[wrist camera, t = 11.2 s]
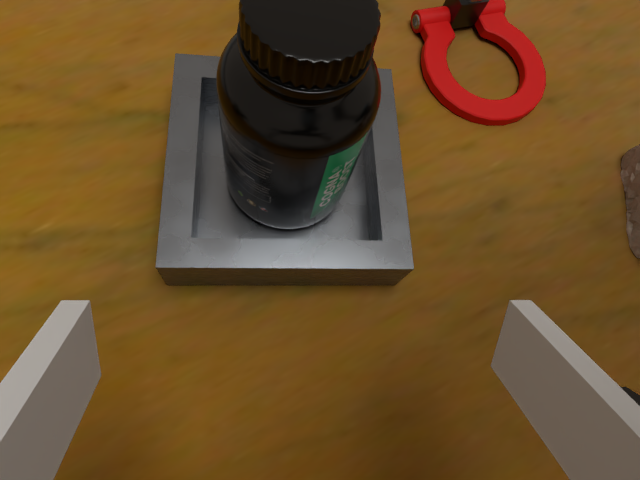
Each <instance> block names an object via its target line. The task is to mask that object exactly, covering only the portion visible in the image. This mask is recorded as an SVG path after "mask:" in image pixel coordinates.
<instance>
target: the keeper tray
mask: <svg viewBox="0 0 640 480" xmlns="http://www.w3.org/2000/svg"><path fill="white" fill-rule="evenodd" d="M219 60H220V57H216V56H203V55H189V54H175V64H174V75H173V86H172V97H171V107H170V118H169V129H168V140H167V150H166V161H165V172H164V183H163V194H162V204H161V215H160V226H159V237H158V247H157V258H156V269H157V270H158V272H159V273H160V275H161V276H162V278H163V279H164V281H165V282H166V284H167V285H396V284H397V283H398V282H399V281H401V280H402V279H403V278H404V277H405V276H406V275H408V274H409V273H410V272H411V271H412V270H413V269H414V265H413V256H412V247H411V238H410V230H409V221H408V212H407V204H406V195H405V186H404V177H403V169H402V160H401V151H400V143H399V134H398V125H397V116H396V108H395V99H394V90H393V82H392V73H391V69H379V68H377V69H378V73H379V76H380V82H381V100H380V105H379V109H378V112H377V115H376V118H375V120H374V123H373V125H372V128H371V130H370V132H369V135H368V137H367V139H366V142H365V144H364V146H363V149H362V151H361V154H360V156H359V158H358V161H357V163H356V165H355V168H354V170H353V172H352V175H351V177H350V179H349V182H348V184H347V186H346V189H345V191H344V193H343V195H342V197H341V199H340V201H339V203H338V204H337V206H336V207H335V208H334V210H333V211H332V212H331V213H330V214H329V215H327V216H326V217H325V218H323V219H322V220H320V221H318V222H317V223H315V224H312V225H310V226H307V227H303V228H298V229H279V228H274V227H270V226H267V225H264V224H262V223H260V222H257V221H256V220H254V219H252V218H251V217H250V216H248V215H247V214H246V213H245V212H244V211H243V210H242V209H241V208H240V207H239V206H238V205H237V203H236V202H235V201H234V199H233V197H232V195H231V193H230V191H229V188H228V184H227V180H226V173H225V166H224V156H223V147H222V137H221V128H220V119H219V109H218V100H217V90H216V74H217V67H218V63H219Z"/></svg>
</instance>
